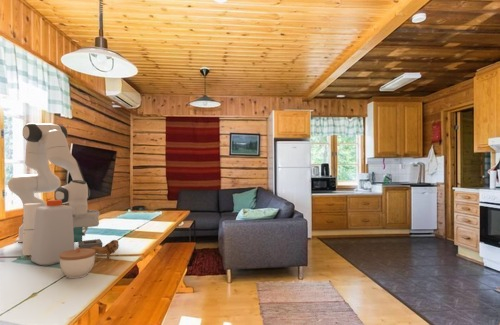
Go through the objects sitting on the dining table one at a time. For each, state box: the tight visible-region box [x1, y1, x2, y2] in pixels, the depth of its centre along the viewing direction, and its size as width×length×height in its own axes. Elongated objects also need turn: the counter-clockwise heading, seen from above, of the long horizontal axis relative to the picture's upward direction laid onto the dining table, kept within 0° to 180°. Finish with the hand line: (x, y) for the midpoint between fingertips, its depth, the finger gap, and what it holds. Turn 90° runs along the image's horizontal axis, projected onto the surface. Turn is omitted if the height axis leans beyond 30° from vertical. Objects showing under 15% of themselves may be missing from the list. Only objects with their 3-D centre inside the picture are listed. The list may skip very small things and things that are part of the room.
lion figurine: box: [91, 239, 120, 263], centre depth 142 cm, size 15×5×9 cm, turn 118°
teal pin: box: [73, 227, 84, 244], centre depth 163 cm, size 4×4×8 cm
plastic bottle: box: [30, 199, 76, 266], centre depth 142 cm, size 15×15×28 cm
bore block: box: [77, 238, 103, 249], centre depth 156 cm, size 10×10×5 cm
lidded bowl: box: [59, 247, 96, 279], centre depth 122 cm, size 13×13×11 cm
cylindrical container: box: [22, 203, 41, 256], centre depth 152 cm, size 7×7×25 cm
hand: (77, 236), depth 163 cm, fingers closed on teal pin, 4 cm apart
